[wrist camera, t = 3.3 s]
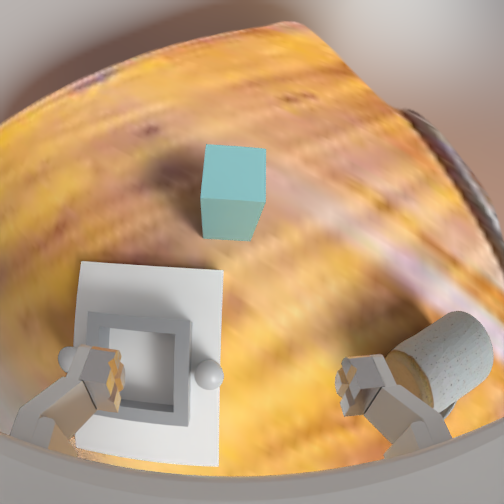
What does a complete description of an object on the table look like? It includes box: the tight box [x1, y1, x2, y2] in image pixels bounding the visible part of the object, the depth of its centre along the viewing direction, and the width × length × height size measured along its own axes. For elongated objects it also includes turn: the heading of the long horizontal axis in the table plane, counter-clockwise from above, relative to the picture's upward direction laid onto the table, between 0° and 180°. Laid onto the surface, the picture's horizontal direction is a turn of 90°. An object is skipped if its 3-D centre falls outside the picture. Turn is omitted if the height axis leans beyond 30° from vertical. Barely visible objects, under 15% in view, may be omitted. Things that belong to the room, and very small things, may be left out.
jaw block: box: [200, 144, 266, 241], centre depth 24 cm, size 4×4×8 cm
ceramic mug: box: [385, 311, 493, 420], centre depth 22 cm, size 11×8×8 cm
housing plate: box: [58, 261, 224, 466], centre depth 21 cm, size 16×12×4 cm
